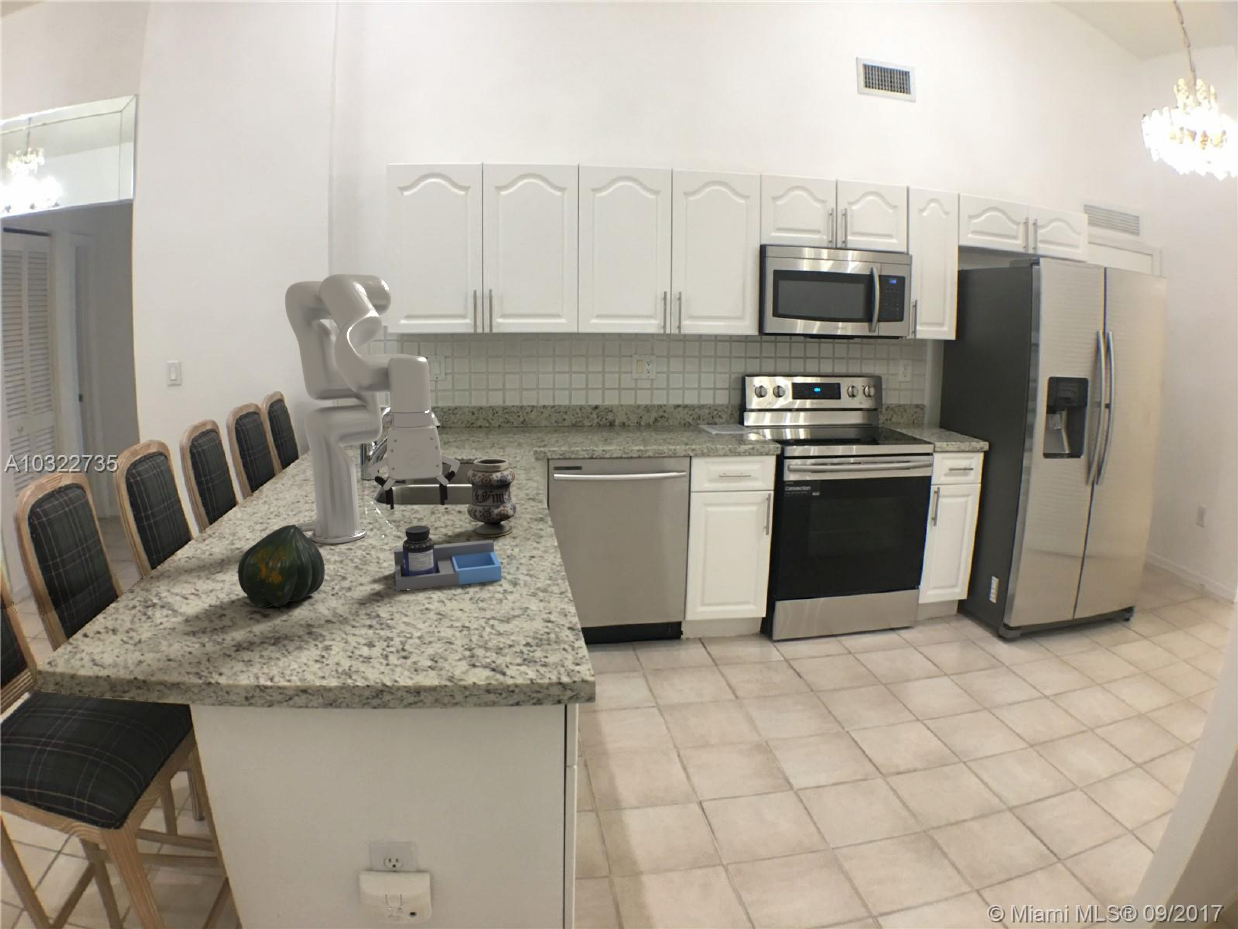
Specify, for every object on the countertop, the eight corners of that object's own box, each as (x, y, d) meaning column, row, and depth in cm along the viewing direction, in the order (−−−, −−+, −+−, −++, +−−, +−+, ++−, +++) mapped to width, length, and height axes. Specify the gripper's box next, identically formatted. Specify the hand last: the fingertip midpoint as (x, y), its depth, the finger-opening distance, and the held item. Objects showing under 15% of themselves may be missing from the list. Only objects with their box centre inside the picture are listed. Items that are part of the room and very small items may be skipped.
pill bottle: (408, 575, 147) (405, 524, 144) (438, 574, 147) (435, 523, 145) (401, 586, 141) (398, 533, 138) (433, 585, 141) (430, 532, 139)
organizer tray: (396, 591, 138) (395, 567, 137) (395, 571, 149) (393, 549, 148) (501, 580, 144) (500, 556, 143) (493, 561, 155) (492, 539, 154)
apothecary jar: (521, 525, 182) (520, 456, 178) (510, 539, 170) (508, 466, 167) (476, 523, 183) (473, 455, 179) (461, 537, 171) (458, 465, 168)
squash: (206, 586, 126) (258, 525, 124) (249, 561, 141) (296, 506, 139) (270, 636, 127) (322, 577, 126) (306, 606, 142) (353, 552, 140)
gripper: (364, 425, 131) (371, 514, 134) (459, 420, 136) (463, 506, 139) (364, 420, 138) (371, 505, 141) (455, 415, 143) (459, 498, 146)
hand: (417, 506), depth 140 cm, fingers open, 9 cm apart
